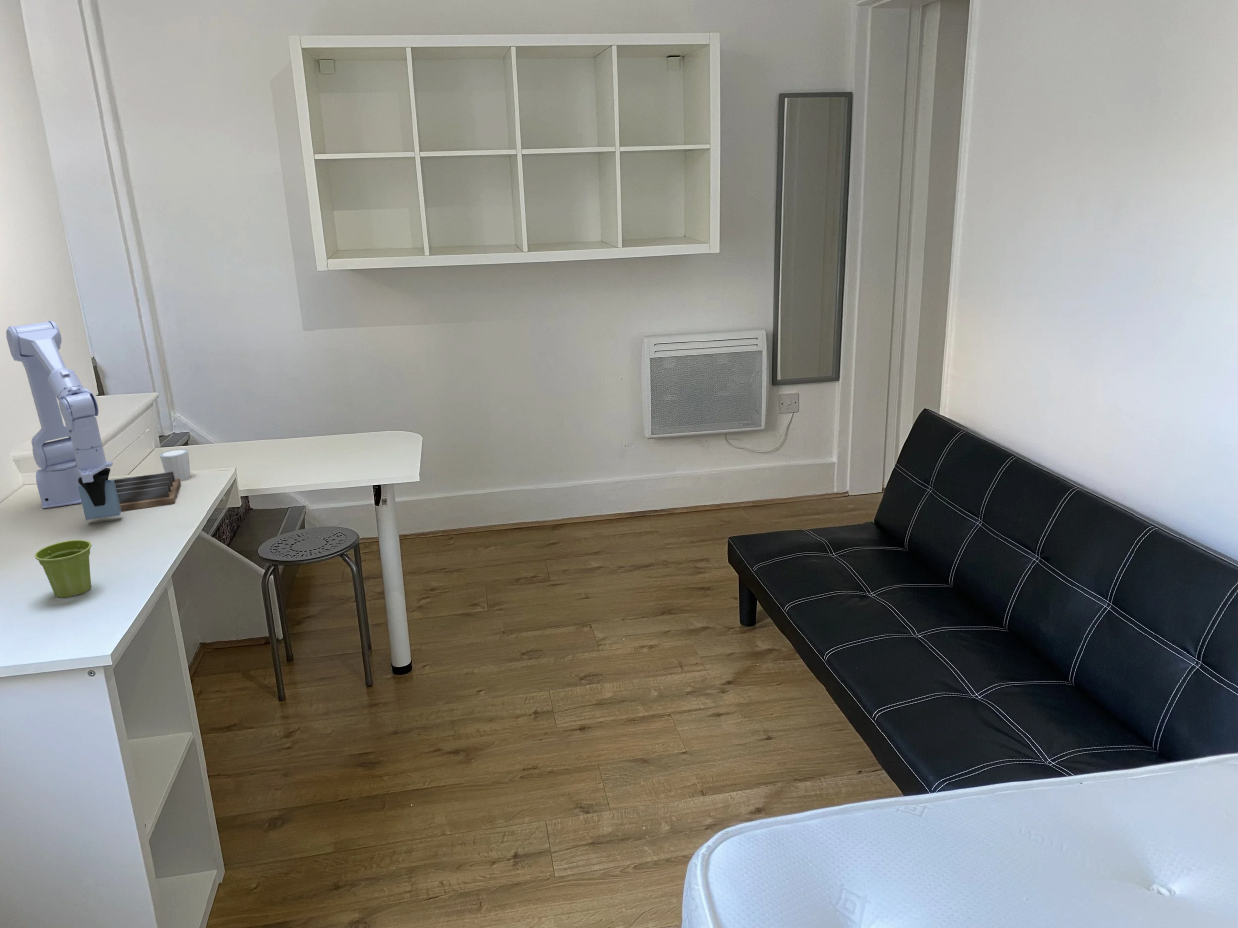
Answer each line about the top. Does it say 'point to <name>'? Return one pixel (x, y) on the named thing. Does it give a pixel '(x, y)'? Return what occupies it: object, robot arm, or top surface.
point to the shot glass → (176, 463)
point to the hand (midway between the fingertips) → (101, 503)
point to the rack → (147, 491)
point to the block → (105, 510)
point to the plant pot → (67, 567)
